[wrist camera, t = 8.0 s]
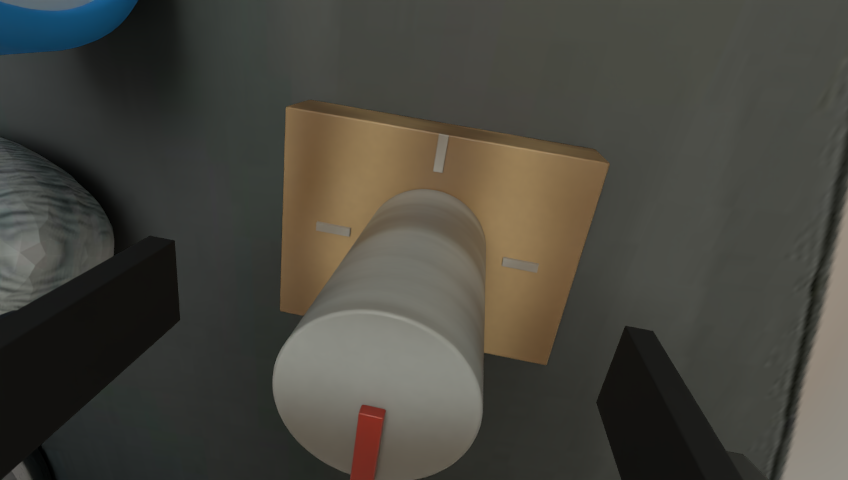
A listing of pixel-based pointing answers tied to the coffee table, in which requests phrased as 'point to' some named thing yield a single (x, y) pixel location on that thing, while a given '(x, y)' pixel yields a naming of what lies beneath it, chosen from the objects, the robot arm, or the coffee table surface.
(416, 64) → the coffee table surface
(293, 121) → the panel
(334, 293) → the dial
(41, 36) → the alarm clock
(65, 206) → the spool
